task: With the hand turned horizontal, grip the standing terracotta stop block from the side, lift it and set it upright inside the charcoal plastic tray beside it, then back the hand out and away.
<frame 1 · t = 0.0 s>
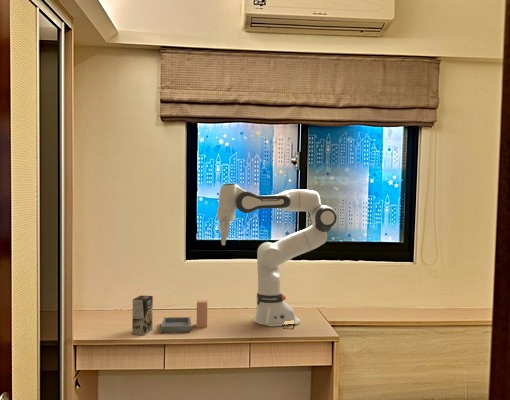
hand: (222, 243, 256), 39 cm above the table, tool pointing down, fingers open, 8 cm apart
coffee box: (142, 332, 239), on the table
stop block: (201, 325, 251), on the table
tray: (176, 327, 247), on the table
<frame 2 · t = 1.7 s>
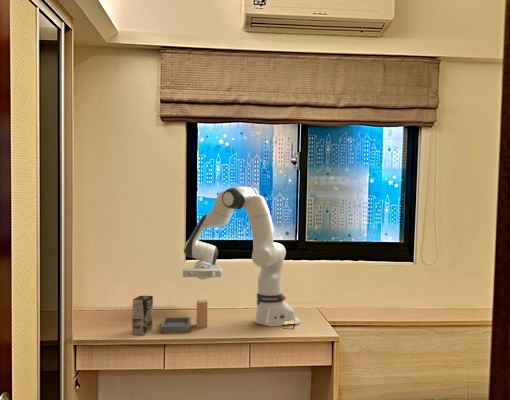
hand: (202, 275, 262), 22 cm above the table, tool horizontal, fingers open, 8 cm apart
nothing on the table moved.
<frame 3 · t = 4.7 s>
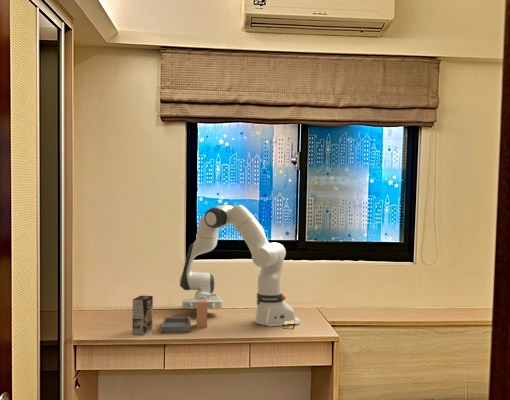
hand: (202, 307, 261), 6 cm above the table, tool horizontal, fingers open, 8 cm apart
nothing on the table moved.
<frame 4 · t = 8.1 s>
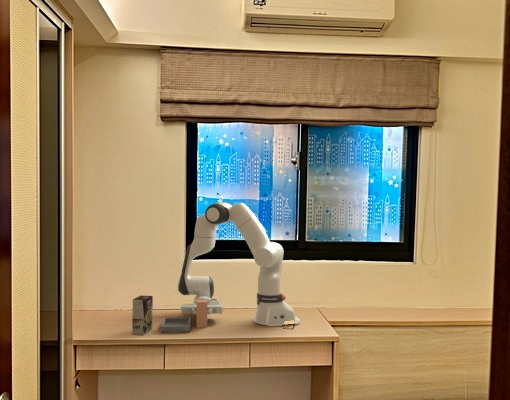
hand: (202, 312, 250), 7 cm above the table, tool horizontal, fingers closed on stop block, 5 cm apart
stop block: (201, 325, 251), on the table, touching gripper
everything else where it was.
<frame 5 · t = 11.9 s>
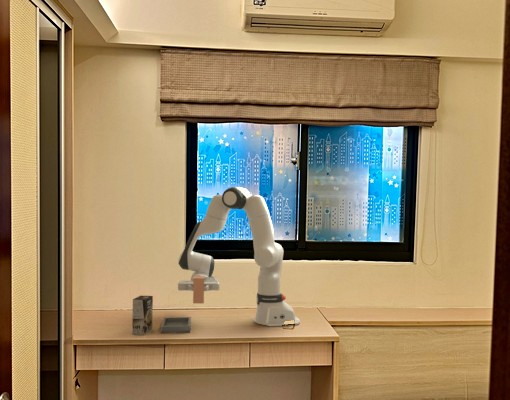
hand: (198, 289, 249), 18 cm above the table, tool horizontal, fingers closed on stop block, 5 cm apart
stop block: (198, 302, 250), point 12 cm above the table, touching gripper
everything else where it was.
when the fingers open (9 cm above the table, at t = 15.8 s): stop block drops 1 cm, resting on tray.
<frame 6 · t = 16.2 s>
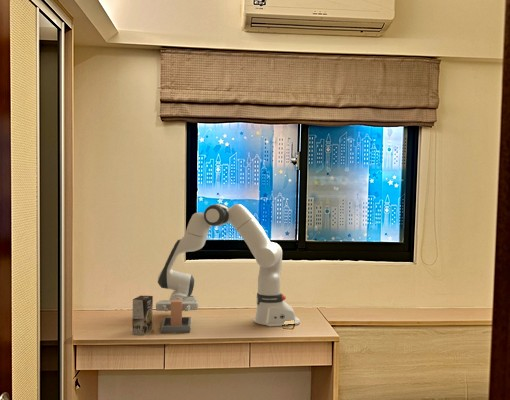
hand: (176, 309, 245), 9 cm above the table, tool horizontal, fingers open, 8 cm apart
stop block: (176, 325, 247), point 1 cm above the table, touching tray
everything else where it was.
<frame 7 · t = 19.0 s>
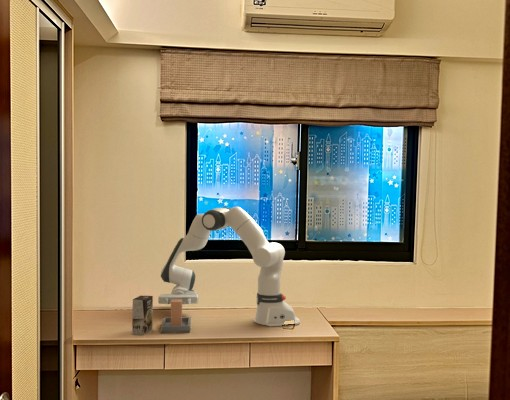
hand: (177, 302, 259), 9 cm above the table, tool horizontal, fingers open, 8 cm apart
nothing on the table moved.
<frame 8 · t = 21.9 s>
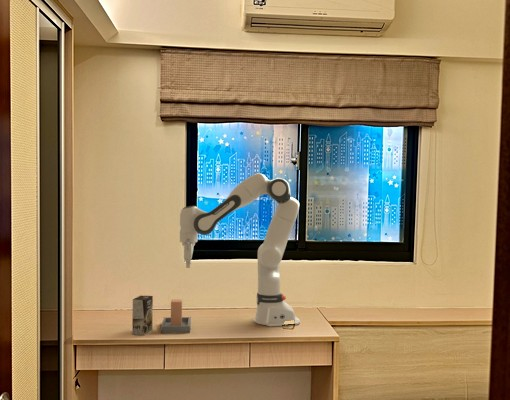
hand: (188, 266, 260), 27 cm above the table, tool pointing down, fingers open, 8 cm apart
nothing on the table moved.
at the end: stop block inside the target area on the tray (0.0 cm from its centre), point 1.0 cm above the tray's base; stop block tilted 0°; the gripper is holding nothing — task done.
